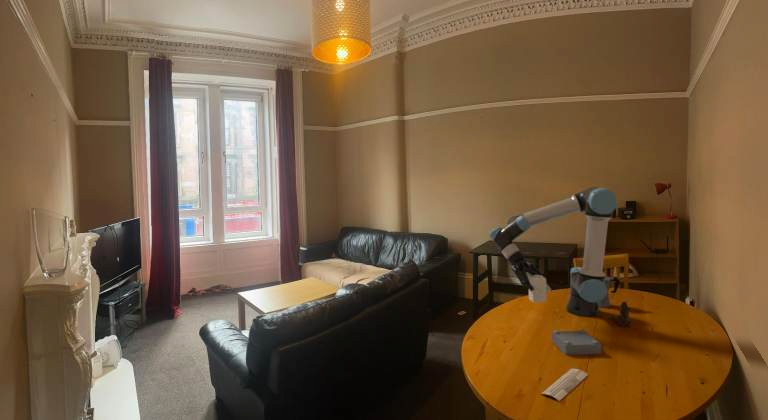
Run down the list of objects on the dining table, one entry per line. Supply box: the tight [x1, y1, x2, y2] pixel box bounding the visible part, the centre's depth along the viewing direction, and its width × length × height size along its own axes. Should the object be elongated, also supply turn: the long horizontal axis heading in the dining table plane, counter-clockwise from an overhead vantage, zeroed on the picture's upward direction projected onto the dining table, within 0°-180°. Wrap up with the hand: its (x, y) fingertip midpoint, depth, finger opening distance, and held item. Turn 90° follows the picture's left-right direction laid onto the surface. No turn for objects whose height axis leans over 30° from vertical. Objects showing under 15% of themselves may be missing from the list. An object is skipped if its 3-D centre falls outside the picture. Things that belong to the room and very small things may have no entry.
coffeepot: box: [597, 276, 621, 309], centre depth 218 cm, size 15×9×18 cm, turn 62°
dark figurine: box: [611, 300, 632, 328], centre depth 193 cm, size 15×10×12 cm, turn 134°
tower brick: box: [528, 275, 547, 303], centre depth 189 cm, size 6×6×12 cm
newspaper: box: [541, 368, 589, 402], centre depth 140 cm, size 24×7×2 cm, turn 133°
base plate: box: [551, 329, 602, 356], centre depth 169 cm, size 14×14×5 cm
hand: (543, 293), depth 187 cm, fingers closed on tower brick, 8 cm apart
